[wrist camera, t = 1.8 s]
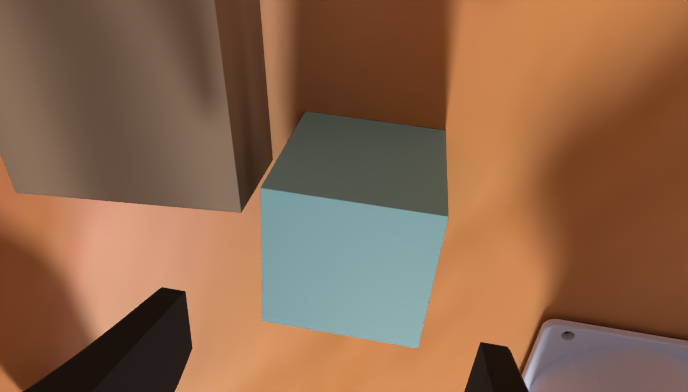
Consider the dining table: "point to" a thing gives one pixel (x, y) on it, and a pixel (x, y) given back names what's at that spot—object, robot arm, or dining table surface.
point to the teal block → (354, 227)
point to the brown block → (135, 100)
